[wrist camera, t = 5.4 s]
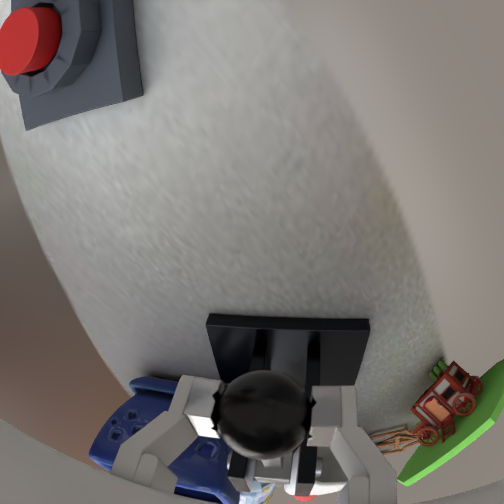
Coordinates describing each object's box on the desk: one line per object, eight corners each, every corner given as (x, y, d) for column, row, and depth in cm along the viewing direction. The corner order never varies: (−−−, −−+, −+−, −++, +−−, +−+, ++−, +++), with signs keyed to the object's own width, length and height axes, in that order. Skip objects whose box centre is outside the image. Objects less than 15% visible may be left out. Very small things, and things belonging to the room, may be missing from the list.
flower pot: (256, 430, 35) (240, 514, 25) (160, 415, 37) (134, 490, 28) (246, 376, 28) (221, 494, 18) (124, 359, 30) (80, 453, 20)
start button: (16, 23, 9) (-6, 26, 8) (60, -4, 9) (37, -5, 7) (21, 78, 11) (-2, 85, 10) (65, 57, 11) (41, 61, 9)
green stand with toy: (513, 405, 12) (453, 349, 16) (382, 500, 19) (341, 458, 23) (522, 332, 22) (484, 298, 25) (440, 421, 29) (409, 392, 32)
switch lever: (217, 349, 10) (195, 440, 7) (317, 354, 9) (312, 452, 7) (255, 445, 19) (249, 486, 17) (301, 448, 18) (296, 489, 16)
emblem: (422, 446, 34) (422, 442, 35) (429, 424, 29) (429, 419, 30) (346, 460, 38) (346, 456, 39) (337, 442, 33) (337, 437, 33)
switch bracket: (209, 313, 24) (160, 456, 14) (368, 318, 22) (383, 473, 12) (223, 372, 28) (194, 487, 18) (352, 378, 26) (353, 499, 16)
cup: (277, 498, 35) (307, 486, 26) (280, 457, 41) (308, 429, 32) (324, 499, 35) (367, 483, 26) (324, 459, 41) (364, 430, 32)
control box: (33, -4, 11) (-9, -3, 8) (130, -53, 10) (91, -70, 6) (47, 122, 16) (6, 140, 13) (143, 95, 15) (104, 108, 12)
